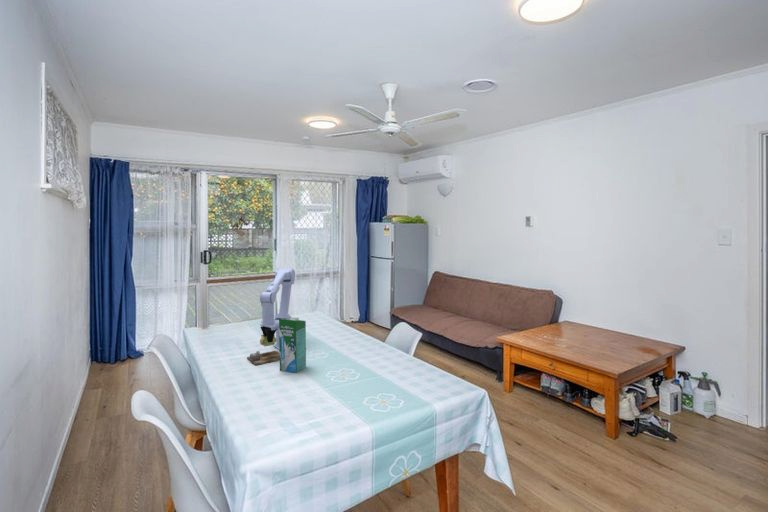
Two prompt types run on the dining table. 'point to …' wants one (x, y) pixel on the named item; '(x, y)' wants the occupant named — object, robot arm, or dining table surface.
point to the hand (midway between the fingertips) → (268, 341)
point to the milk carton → (292, 344)
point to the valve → (264, 340)
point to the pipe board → (264, 357)
